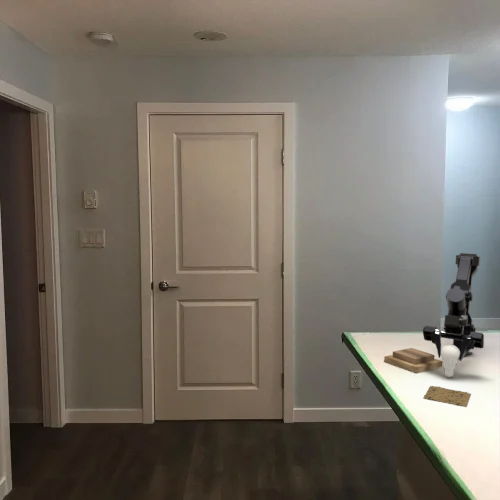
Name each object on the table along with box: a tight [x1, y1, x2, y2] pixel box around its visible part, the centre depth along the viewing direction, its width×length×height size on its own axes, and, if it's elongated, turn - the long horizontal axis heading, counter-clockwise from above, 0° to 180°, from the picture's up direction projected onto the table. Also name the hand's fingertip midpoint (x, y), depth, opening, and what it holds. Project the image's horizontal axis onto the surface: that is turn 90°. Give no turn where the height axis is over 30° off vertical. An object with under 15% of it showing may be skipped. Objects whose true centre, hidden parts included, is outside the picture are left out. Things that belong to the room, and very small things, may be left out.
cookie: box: [422, 385, 472, 408], centre depth 149 cm, size 12×12×1 cm
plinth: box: [383, 347, 444, 374], centre depth 178 cm, size 14×14×4 cm
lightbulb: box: [440, 343, 460, 378], centre depth 165 cm, size 6×6×11 cm
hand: (449, 358), depth 164 cm, fingers closed on lightbulb, 6 cm apart
